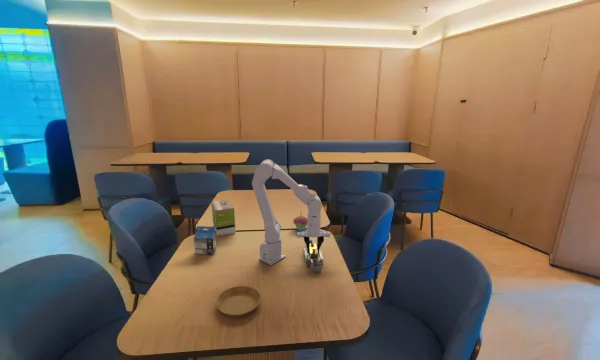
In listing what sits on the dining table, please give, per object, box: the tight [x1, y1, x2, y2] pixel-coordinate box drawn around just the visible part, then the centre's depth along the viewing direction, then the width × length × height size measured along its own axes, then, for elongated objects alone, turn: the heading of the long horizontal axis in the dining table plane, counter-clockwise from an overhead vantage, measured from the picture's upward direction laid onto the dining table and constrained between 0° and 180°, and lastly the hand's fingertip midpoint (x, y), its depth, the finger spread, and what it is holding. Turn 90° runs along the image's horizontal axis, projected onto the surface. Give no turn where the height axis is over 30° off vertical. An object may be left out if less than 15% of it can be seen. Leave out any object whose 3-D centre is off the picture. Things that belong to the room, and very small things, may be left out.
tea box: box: [210, 199, 236, 237], centre depth 153 cm, size 15×10×15 cm, turn 25°
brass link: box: [308, 243, 318, 259], centre depth 126 cm, size 9×4×5 cm, turn 4°
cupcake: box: [292, 210, 307, 232], centre depth 155 cm, size 9×8×12 cm
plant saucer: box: [215, 285, 262, 318], centre depth 95 cm, size 15×15×3 cm
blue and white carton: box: [193, 225, 217, 256], centre depth 128 cm, size 9×4×12 cm, turn 88°
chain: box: [303, 239, 324, 274], centre depth 125 cm, size 23×8×4 cm, turn 4°
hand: (313, 251), depth 125 cm, fingers closed on brass link, 3 cm apart
